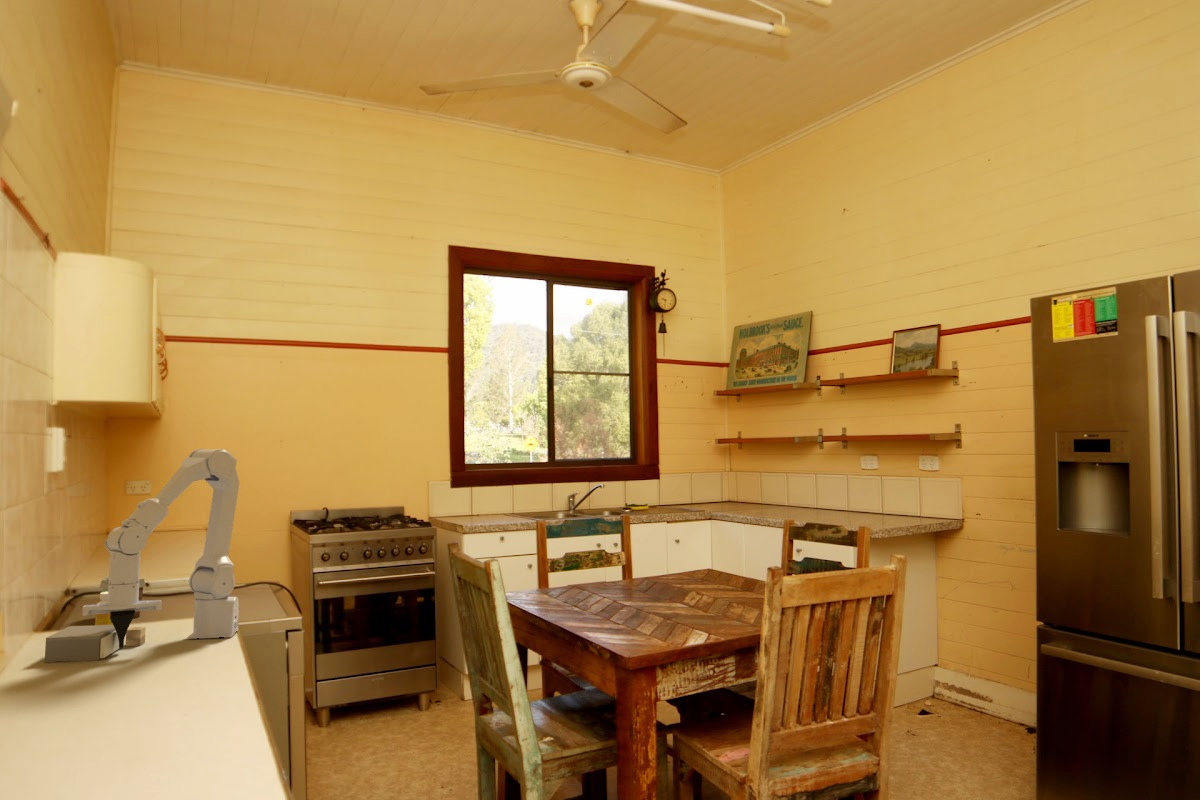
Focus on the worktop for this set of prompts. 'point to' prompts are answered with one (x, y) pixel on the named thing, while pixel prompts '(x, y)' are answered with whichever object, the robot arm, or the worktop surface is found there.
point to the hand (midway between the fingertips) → (121, 646)
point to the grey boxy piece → (76, 643)
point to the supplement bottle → (103, 618)
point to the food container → (105, 585)
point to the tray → (109, 644)
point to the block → (135, 636)
